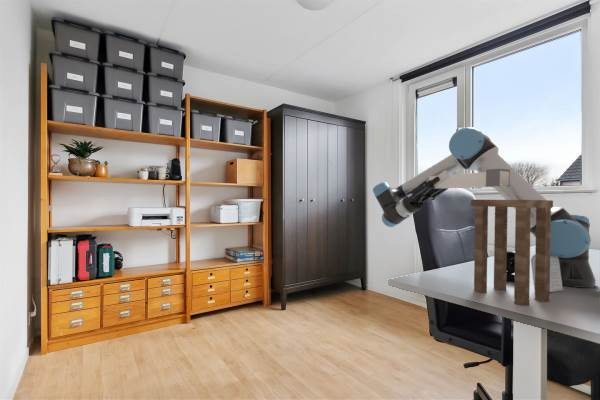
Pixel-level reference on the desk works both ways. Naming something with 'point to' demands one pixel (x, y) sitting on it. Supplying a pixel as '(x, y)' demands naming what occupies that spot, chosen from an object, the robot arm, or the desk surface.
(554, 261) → the photo printer
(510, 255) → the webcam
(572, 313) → the desk surface
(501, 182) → the light grey bar
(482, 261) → the walnut stand
